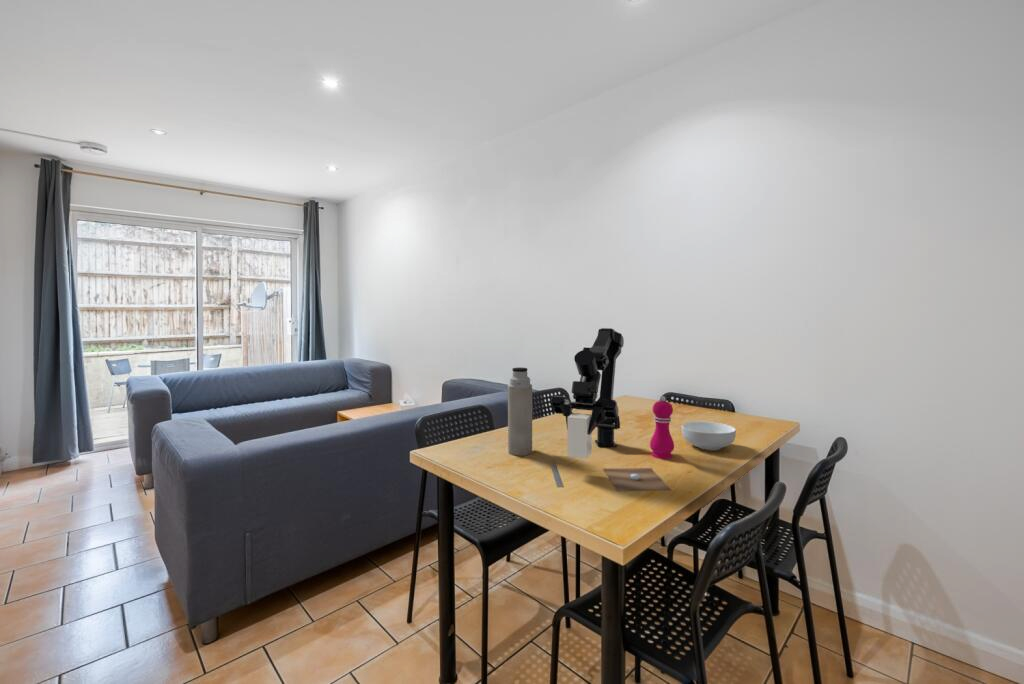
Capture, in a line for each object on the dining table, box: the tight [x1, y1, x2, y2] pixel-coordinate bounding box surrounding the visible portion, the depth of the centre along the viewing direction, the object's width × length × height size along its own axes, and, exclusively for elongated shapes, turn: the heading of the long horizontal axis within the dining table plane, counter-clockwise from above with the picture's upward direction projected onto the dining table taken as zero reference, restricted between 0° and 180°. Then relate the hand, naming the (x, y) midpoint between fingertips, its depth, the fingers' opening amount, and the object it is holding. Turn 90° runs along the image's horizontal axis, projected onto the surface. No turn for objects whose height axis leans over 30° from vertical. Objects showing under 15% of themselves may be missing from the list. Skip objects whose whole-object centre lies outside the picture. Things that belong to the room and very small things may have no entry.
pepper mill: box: [649, 395, 675, 460], centre depth 142 cm, size 7×7×20 cm
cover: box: [566, 412, 593, 460], centre depth 126 cm, size 5×5×11 cm
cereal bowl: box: [680, 420, 737, 451], centre depth 155 cm, size 17×17×7 cm
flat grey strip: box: [550, 465, 565, 488], centre depth 128 cm, size 16×13×1 cm
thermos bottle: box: [507, 367, 533, 456], centre depth 149 cm, size 8×8×28 cm
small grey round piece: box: [631, 474, 640, 480], centre depth 123 cm, size 2×2×1 cm
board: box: [602, 467, 672, 492], centre depth 123 cm, size 16×14×1 cm
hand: (578, 432), depth 125 cm, fingers closed on cover, 5 cm apart
